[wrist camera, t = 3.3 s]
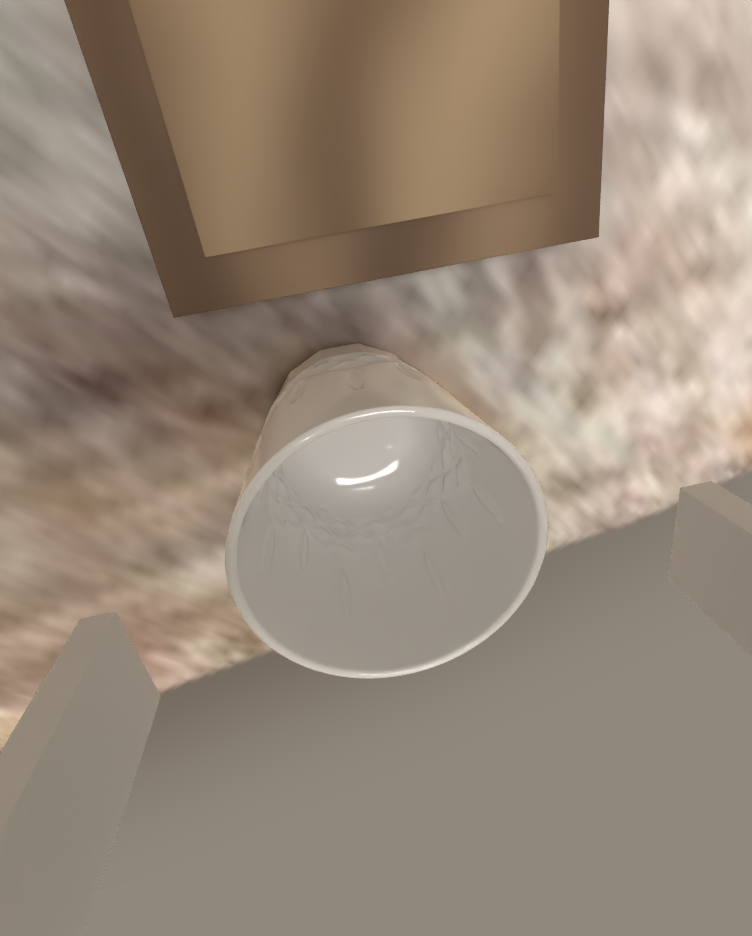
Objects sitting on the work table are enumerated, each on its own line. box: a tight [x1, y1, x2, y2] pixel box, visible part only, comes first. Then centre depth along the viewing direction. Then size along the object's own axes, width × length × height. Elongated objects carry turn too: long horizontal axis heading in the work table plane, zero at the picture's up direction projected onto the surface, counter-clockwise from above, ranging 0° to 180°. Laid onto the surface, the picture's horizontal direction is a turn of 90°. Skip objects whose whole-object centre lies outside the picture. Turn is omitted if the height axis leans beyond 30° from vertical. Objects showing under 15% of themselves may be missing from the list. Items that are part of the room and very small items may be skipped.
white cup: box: [225, 343, 548, 678], centre depth 16 cm, size 8×8×10 cm
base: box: [64, 0, 609, 318], centre depth 13 cm, size 14×14×3 cm
